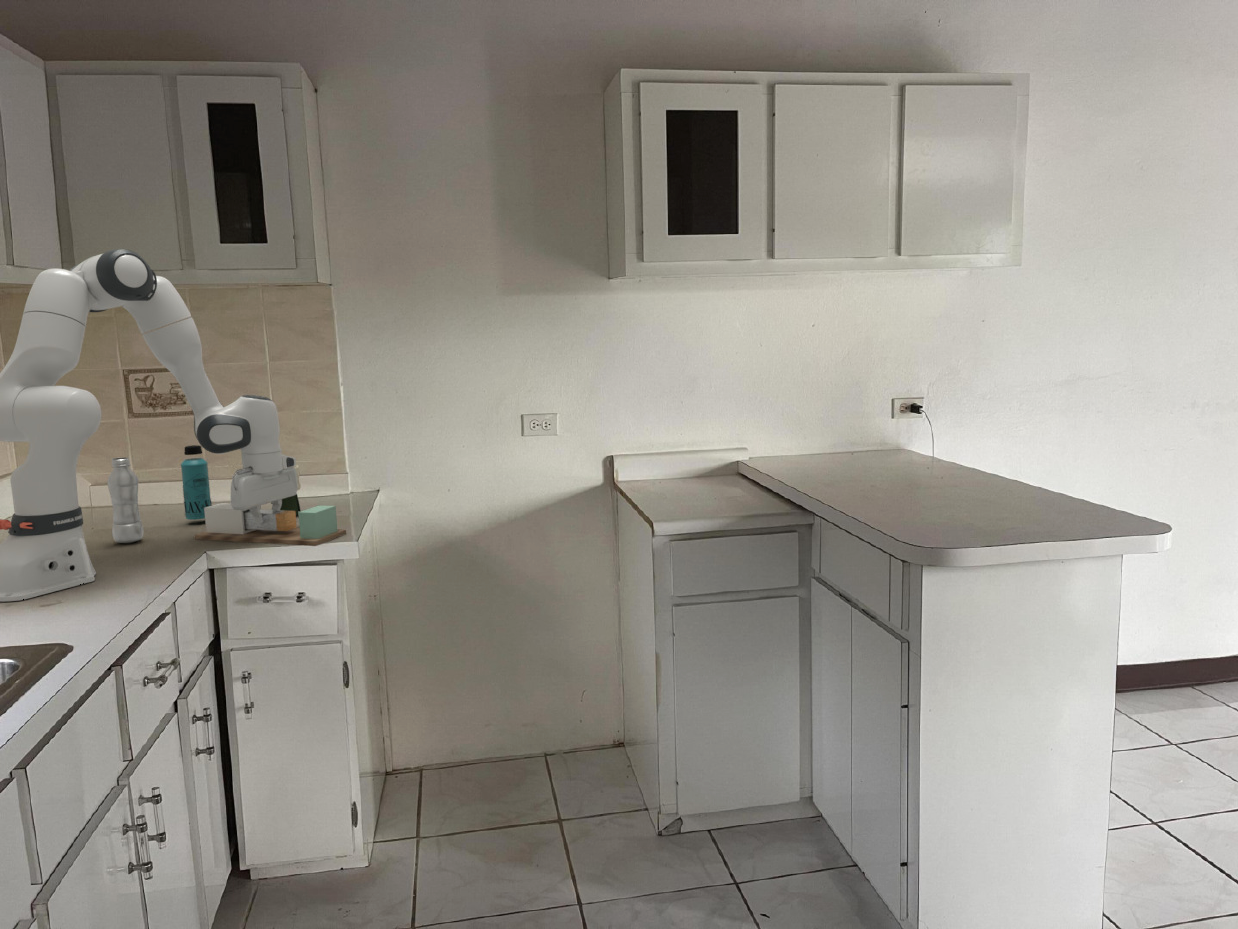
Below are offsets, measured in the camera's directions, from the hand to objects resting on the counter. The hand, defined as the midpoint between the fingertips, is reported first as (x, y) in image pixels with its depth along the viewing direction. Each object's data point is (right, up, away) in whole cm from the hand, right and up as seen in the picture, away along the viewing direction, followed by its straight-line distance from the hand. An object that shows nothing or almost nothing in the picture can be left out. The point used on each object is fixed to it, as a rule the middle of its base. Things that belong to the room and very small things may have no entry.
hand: (267, 521), depth 224 cm
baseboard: (+1, -4, 0) cm, 4 cm away
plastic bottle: (-32, -5, -2) cm, 32 cm away
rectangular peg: (-3, -2, +1) cm, 4 cm away
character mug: (-4, 0, +24) cm, 25 cm away
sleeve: (-9, -2, +3) cm, 10 cm away
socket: (+13, -3, -4) cm, 14 cm away
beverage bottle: (-24, -2, +19) cm, 31 cm away
